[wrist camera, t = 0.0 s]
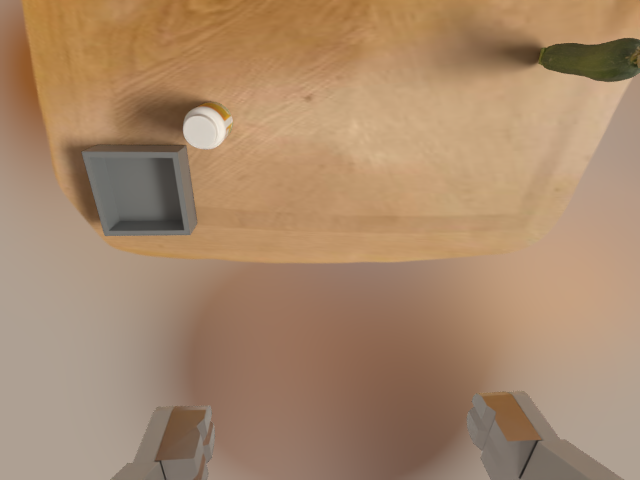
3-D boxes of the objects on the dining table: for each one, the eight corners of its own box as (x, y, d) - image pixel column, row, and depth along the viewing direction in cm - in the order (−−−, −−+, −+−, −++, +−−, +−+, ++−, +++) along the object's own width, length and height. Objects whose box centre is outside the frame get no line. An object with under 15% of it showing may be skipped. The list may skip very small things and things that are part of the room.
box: (97, 144, 52) (81, 151, 48) (186, 145, 53) (177, 152, 49) (117, 223, 58) (104, 235, 54) (197, 223, 59) (190, 235, 55)
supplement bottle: (191, 104, 51) (170, 112, 42) (228, 98, 51) (215, 106, 42) (201, 141, 53) (183, 157, 45) (237, 136, 53) (226, 151, 45)
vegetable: (564, 48, 51) (711, 40, 33) (549, 80, 53) (681, 89, 35) (537, 40, 50) (672, 28, 32) (523, 73, 52) (643, 79, 34)
